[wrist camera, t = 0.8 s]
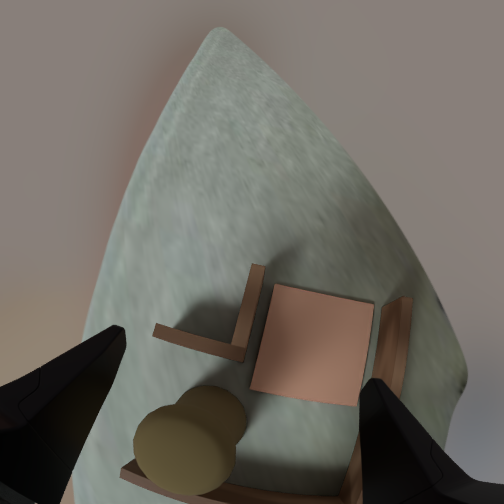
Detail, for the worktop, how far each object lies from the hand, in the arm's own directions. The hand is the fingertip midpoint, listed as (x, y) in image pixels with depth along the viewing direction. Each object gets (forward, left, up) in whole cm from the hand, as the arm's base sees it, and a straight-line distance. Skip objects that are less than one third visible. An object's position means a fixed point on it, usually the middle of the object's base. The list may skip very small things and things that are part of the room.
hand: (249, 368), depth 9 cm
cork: (-5, +2, -14) cm, 15 cm away
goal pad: (+3, -5, -14) cm, 15 cm away
